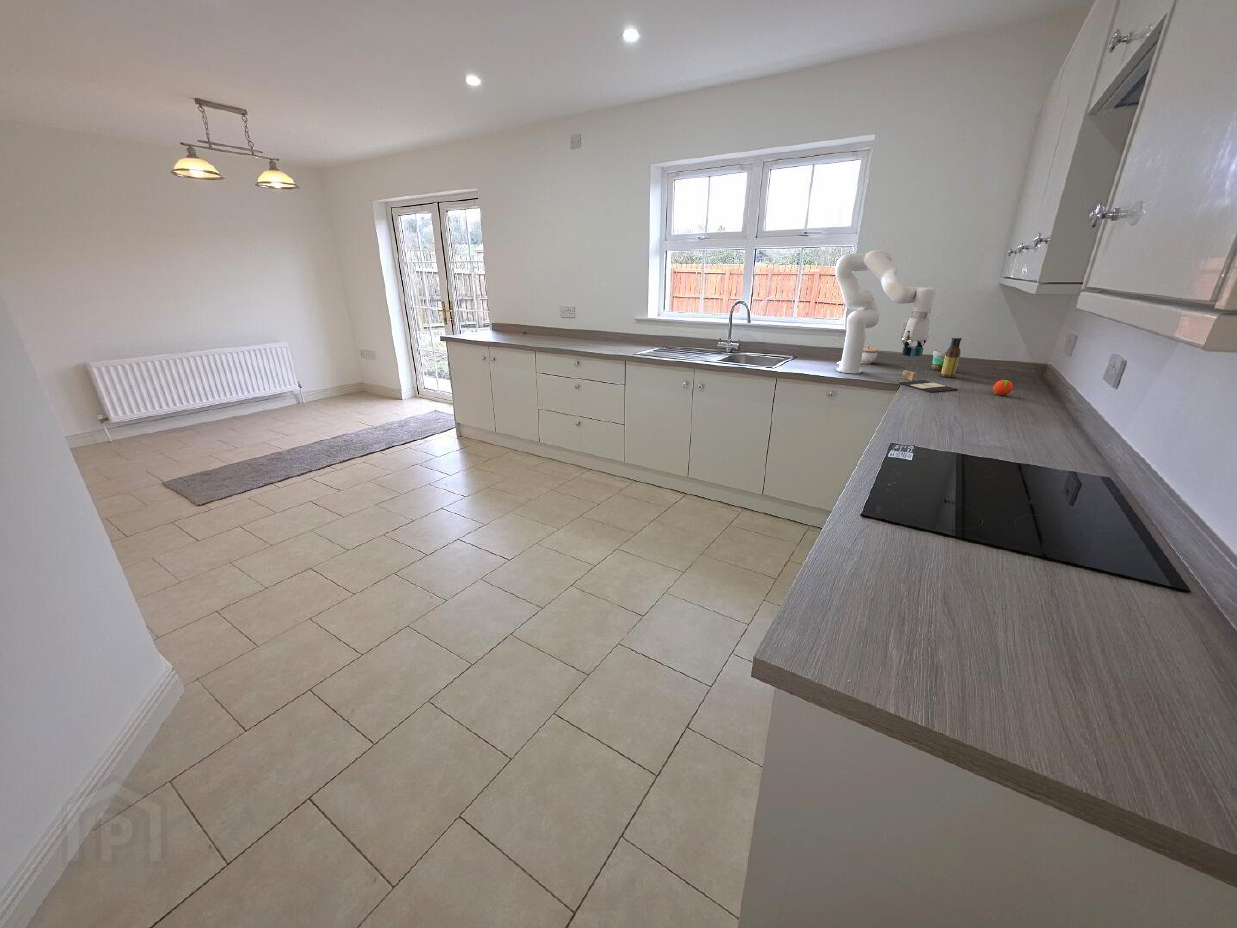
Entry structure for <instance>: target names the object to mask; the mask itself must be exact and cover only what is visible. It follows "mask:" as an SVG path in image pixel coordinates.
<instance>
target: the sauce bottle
mask: <svg viewBox="0 0 1237 928" xmlns="http://www.w3.org/2000/svg"><path fill="white" fill-rule="evenodd" d="M962 339H963V338H962V337H960V336H952V337H951V342H950V346H949V347H948V349H947V350H946V351H945V352H946V355H945V359H944V363H943V367H942V371H940V373H941V374H940V376H941V377H943V378H950V379H951V378H955V377H956V373H957V369H958V366H959V362H960V356H961V348H960V345H961V341H962Z"/></svg>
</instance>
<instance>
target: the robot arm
mask: <svg viewBox="0 0 1237 928" xmlns="http://www.w3.org/2000/svg"><path fill="white" fill-rule="evenodd" d="M892 261H893V255H892V253H891V252H890V251H889V250H886V249H873V250H870V251H868V252H864V253H863V252H861V253H860V252H850V253H846V254H844V255H842V256H841V257H840V258H838V260H837V262H836V265H835V269H834V273H835V274H834V275H835V278H836V281H837V283H838V286H839V289H840V294H841V296H842V300H843V304H844V306H845V308H846V309H849V310H853V311H852V312H851V313H849V315H847V318H846V332H845V339H844V345H843V350H842V356H841V360H839V361H837V362H836V365H838V367H836V371H837V372H839V373H843V374H851V375H852V374H853V375H854V374H855V375H856V374H862V373H863V369H861V368H860V367H861V364H862V363H861V358H862V353H863V349H864V348H865V344H866V337H867V334H866V329H871V328H873V327H875V326H877V325H878V323H879V321H880V313H879V310H878V306H877V303H876V300H875V299H876V298H875V297H874V294H873V293H872V292H871V291H870V290H868V289H861V288H860V285H859V282H858V279H857V277H856V275H855V274H854V272H862V271H863V272H864V271H870V272H871V273H872V274H873V275H874V276H875V277H876V278H877V280H879V281H880V285H881V288H882V290H883V292H884V293H885V294H886V297H888V298H889V299H890V300H891V301H892V302H894V303H895V304H901V305H902V304H913V306H912V311H911V315H910V318H909V319H908V320H907V324H906V326H905V329H904V333H903V336H902V338H901V342H902V344H903V347H905V348H904V352H903V355H906V356H905V357H908V356H909V355H910V351H911V346H913V342H916V345H915V347H921V348H923V347H924V346H925V344H926V343H927V341H928V340H929V339H930V337H929V331H930V322H931V321H930V318H931V314H932V309H933V305H934V301H935V296H936V292H937V291H936V288H935V287H926V286H924V287H923V286H922V287H921V286H916V285H908V286H906V285H905V286H904V285H903V284H902V283H901V282H900V281H899V280H898V279H897V277H896V275H897V273H898V270H899V269H898V267H897V266H896V265H895V264H894V262H892ZM903 355H902V356H903Z"/></svg>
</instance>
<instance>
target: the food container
mask: <svg viewBox="0 0 1237 928" xmlns="http://www.w3.org/2000/svg"><path fill="white" fill-rule="evenodd" d="M946 352H947V351H938V350H937V349H934V350H933V352H932V355H933V356H932V364H931V370H933V371H936V372H942V367H943V363H944V359H945V355H946Z"/></svg>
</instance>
